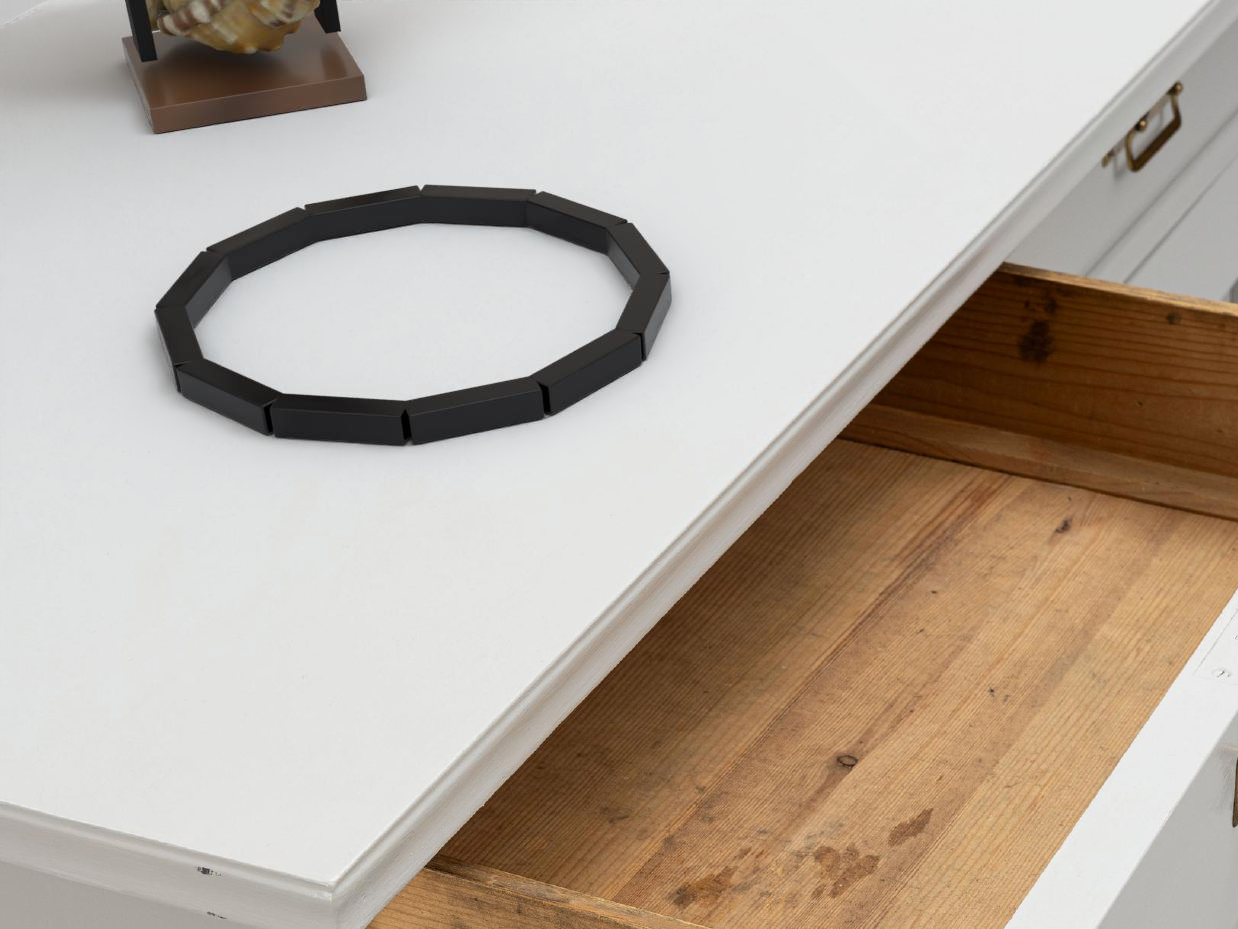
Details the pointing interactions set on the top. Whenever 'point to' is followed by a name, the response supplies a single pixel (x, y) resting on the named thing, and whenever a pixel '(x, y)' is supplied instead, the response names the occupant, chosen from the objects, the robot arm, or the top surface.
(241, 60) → the walnut board
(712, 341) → the top surface
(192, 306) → the burner ring
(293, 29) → the seashell
